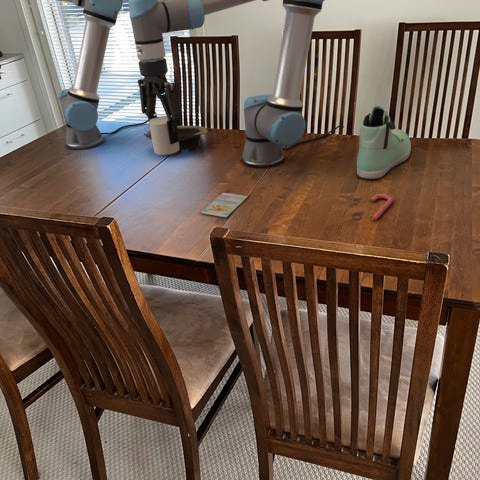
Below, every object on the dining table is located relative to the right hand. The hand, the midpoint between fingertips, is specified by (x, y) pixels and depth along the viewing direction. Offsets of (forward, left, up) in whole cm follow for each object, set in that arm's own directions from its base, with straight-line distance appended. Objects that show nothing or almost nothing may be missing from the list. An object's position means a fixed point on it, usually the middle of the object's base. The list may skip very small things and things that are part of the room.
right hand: (165, 140), depth 141 cm
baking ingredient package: (-13, +11, -20) cm, 26 cm away
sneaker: (-73, +5, -20) cm, 76 cm away
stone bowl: (-12, -44, -20) cm, 50 cm away
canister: (0, 0, -3) cm, 3 cm away
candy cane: (-52, +34, -20) cm, 65 cm away
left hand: (+52, -57, +13) cm, 78 cm away
